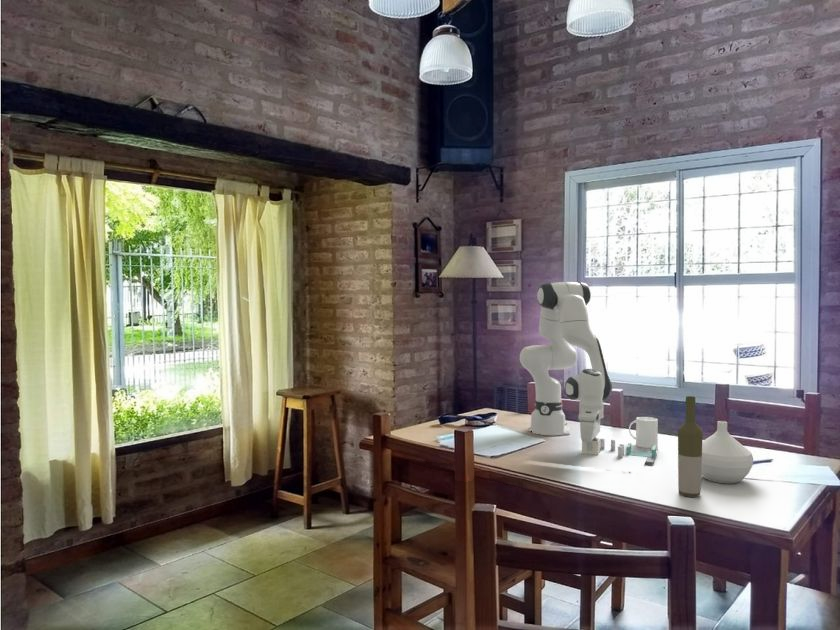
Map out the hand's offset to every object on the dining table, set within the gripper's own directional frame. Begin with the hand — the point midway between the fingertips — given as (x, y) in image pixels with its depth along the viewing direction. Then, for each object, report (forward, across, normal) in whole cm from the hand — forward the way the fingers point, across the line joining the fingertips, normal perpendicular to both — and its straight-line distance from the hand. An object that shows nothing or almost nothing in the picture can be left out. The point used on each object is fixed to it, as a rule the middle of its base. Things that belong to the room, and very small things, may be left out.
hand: (590, 448), depth 235 cm
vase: (+3, +12, +44) cm, 46 cm away
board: (+3, -4, +10) cm, 10 cm away
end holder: (+2, -6, +18) cm, 19 cm away
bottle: (+3, +34, +36) cm, 49 cm away
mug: (+3, -22, +16) cm, 28 cm away
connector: (+1, 0, 0) cm, 1 cm away
